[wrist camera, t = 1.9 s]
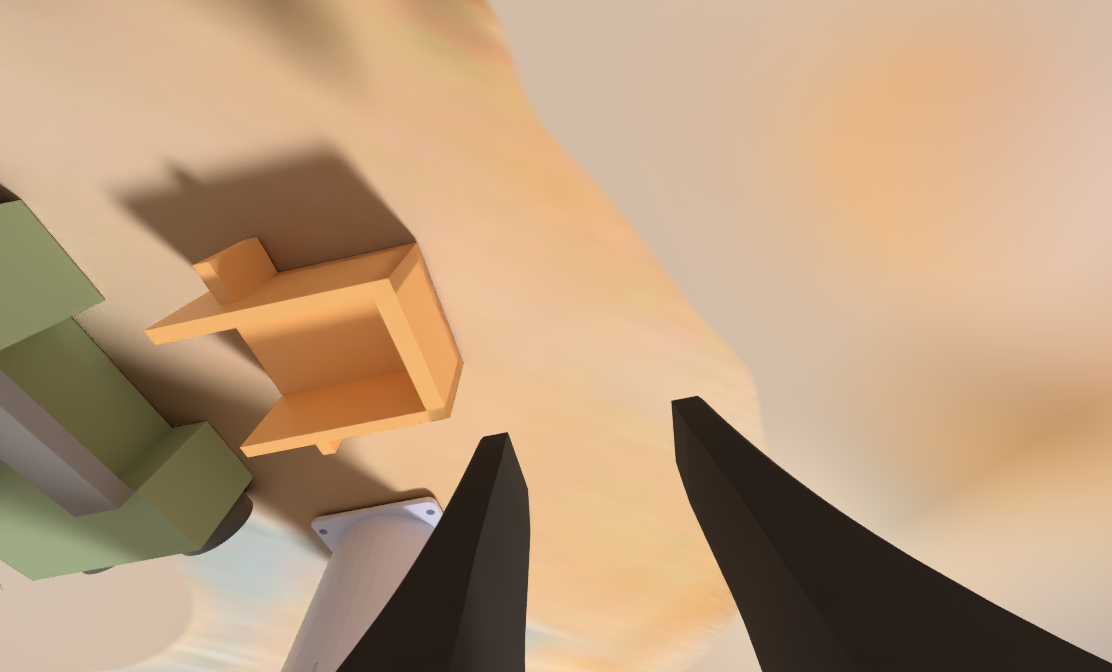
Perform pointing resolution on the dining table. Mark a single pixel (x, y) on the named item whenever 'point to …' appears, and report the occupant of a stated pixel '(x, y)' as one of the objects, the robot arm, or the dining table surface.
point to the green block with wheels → (91, 434)
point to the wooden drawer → (330, 341)
